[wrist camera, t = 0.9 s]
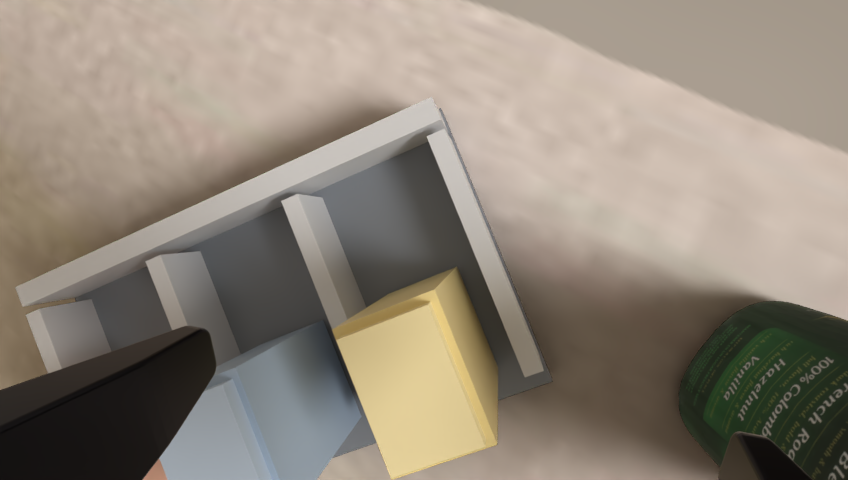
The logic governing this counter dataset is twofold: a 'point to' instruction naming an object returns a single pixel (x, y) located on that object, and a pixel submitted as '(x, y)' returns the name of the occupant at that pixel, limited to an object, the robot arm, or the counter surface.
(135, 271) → the grey divided tray
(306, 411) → the pale blue block
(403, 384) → the yellow block
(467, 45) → the counter surface
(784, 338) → the coffee jar
